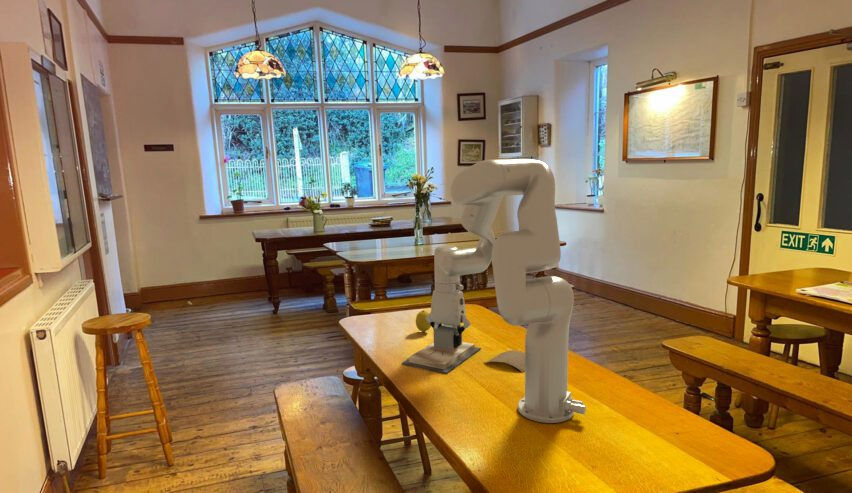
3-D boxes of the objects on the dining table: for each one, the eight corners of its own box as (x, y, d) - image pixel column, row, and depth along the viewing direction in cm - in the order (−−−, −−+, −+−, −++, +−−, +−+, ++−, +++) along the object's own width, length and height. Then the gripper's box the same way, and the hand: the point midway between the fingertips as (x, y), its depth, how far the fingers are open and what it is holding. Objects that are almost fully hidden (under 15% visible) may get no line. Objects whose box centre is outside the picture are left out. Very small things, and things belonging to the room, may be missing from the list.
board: (439, 341, 168) (439, 336, 168) (481, 349, 160) (480, 343, 160) (401, 364, 150) (401, 357, 149) (446, 374, 142) (446, 367, 142)
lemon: (413, 334, 176) (413, 311, 175) (418, 329, 182) (418, 307, 180) (429, 335, 175) (428, 312, 174) (433, 330, 180) (433, 308, 179)
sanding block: (446, 341, 163) (446, 322, 162) (462, 344, 160) (462, 325, 159) (433, 349, 156) (433, 330, 155) (449, 352, 153) (449, 332, 152)
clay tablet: (541, 364, 149) (541, 355, 149) (527, 376, 141) (527, 366, 140) (496, 355, 157) (496, 346, 157) (480, 365, 149) (480, 356, 149)
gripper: (478, 287, 154) (478, 345, 156) (429, 281, 162) (430, 337, 165) (467, 293, 147) (467, 353, 150) (416, 286, 156) (417, 344, 159)
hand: (448, 344), depth 158 cm, fingers closed on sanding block, 5 cm apart
